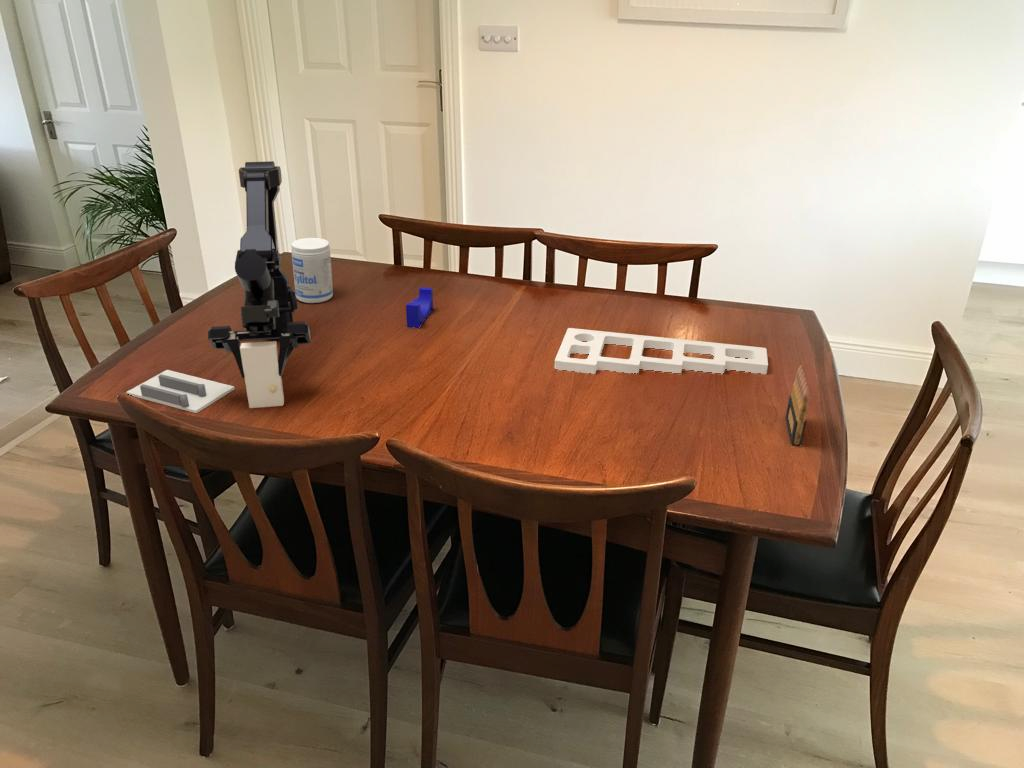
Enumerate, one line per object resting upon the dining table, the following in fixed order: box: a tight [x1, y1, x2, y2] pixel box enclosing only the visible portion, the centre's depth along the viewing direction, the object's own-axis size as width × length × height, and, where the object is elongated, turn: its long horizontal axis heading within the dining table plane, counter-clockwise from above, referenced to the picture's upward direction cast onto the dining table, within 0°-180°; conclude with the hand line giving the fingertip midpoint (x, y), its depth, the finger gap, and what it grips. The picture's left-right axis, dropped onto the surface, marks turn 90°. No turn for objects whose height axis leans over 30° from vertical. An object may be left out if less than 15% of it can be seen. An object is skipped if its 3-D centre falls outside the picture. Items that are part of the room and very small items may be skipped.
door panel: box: [240, 340, 285, 409], centre depth 158 cm, size 4×6×13 cm, turn 100°
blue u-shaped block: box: [405, 286, 434, 329], centre depth 199 cm, size 12×4×6 cm, turn 169°
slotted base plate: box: [125, 369, 235, 414], centre depth 165 cm, size 11×18×3 cm, turn 66°
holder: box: [554, 327, 769, 375], centre depth 180 cm, size 45×18×3 cm, turn 77°
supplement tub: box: [291, 237, 334, 304], centre depth 208 cm, size 10×10×15 cm
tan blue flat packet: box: [785, 364, 810, 446], centre depth 152 cm, size 11×2×12 cm, turn 169°
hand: (261, 376), depth 157 cm, fingers closed on door panel, 6 cm apart
